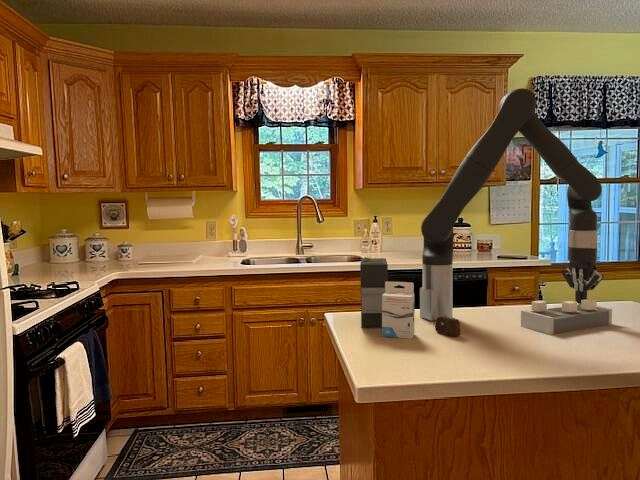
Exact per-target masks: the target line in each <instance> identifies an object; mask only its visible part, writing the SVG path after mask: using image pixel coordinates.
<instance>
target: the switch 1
mask: <svg viewBox="0 0 640 480" xmlns="http://www.w3.org/2000/svg"><path fill="white" fill-rule="evenodd" d="M547 305H548V304H547V301H543V300H534V301H531V311H538V312H539V311H546V310H547V309H548V307H547Z"/></svg>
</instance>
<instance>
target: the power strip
mask: <svg viewBox="0 0 640 480" xmlns="http://www.w3.org/2000/svg"><path fill="white" fill-rule="evenodd" d="M608 325H613V308H610V307H606V306H601V305H597V308H596V309H592V310H586V309H582V308H581V304H580V303H577V311H574V312H566V311H562V306H560V307H551V308H547V310H546V311H539V312H538V311H534V310H531V311H528V310H525V309H524V310H523V309H522V310H520V326H521V327H523V328H525V329H526V328H527V329H528V330H533V331H537V332H539V333H543V334H547V335H554V334H555V335H556V334H560V333H566V332H573V331H579V330H584V329H590V328H596V327H597V328H598V327H603V326H608Z"/></svg>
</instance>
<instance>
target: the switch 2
mask: <svg viewBox="0 0 640 480" xmlns="http://www.w3.org/2000/svg"><path fill="white" fill-rule="evenodd" d="M577 305H578V303H577V302H576V301H574V300H573V301H572V300H567V301H561V307H562V311H566V312H574V311H577Z"/></svg>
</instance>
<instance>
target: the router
mask: <svg viewBox="0 0 640 480" xmlns="http://www.w3.org/2000/svg"><path fill="white" fill-rule="evenodd" d="M359 265H360V266H359V267H360V269H359V272H360V274H359V275H360V315H361V316H360V321H361V323H360V324H361V326H360V328H362V329H364V328H365V329H382V295H383V294H384V293H385V282H389V280H388V279H389V278H388V277H389V273H388V272H389V271H388V269H389V267H388V261H387V258H385V257H384V258H372V257H371V256H370V257H366V256H364V258H361V259H360V264H359Z"/></svg>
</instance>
